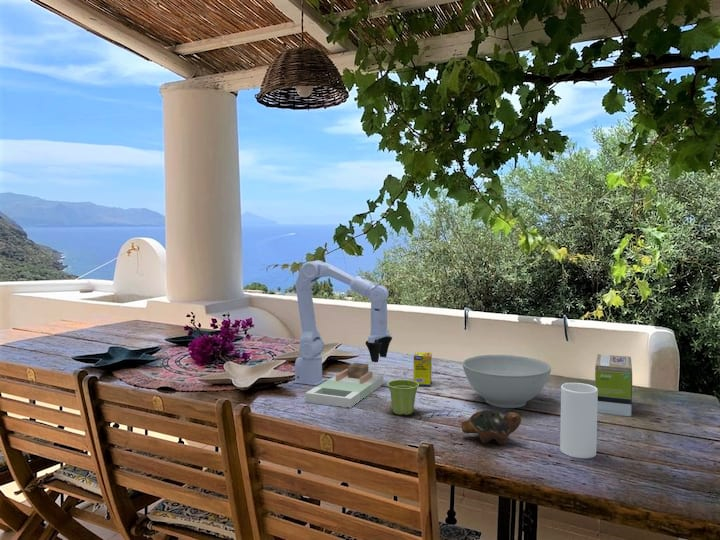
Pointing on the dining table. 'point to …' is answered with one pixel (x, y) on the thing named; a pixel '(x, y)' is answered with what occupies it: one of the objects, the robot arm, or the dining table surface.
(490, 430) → the decorative turtle
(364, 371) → the walnut block
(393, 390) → the plant pot
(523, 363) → the decorative bowl
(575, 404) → the cup
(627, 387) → the tea box
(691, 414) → the dining table surface
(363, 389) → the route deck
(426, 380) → the supplement box
